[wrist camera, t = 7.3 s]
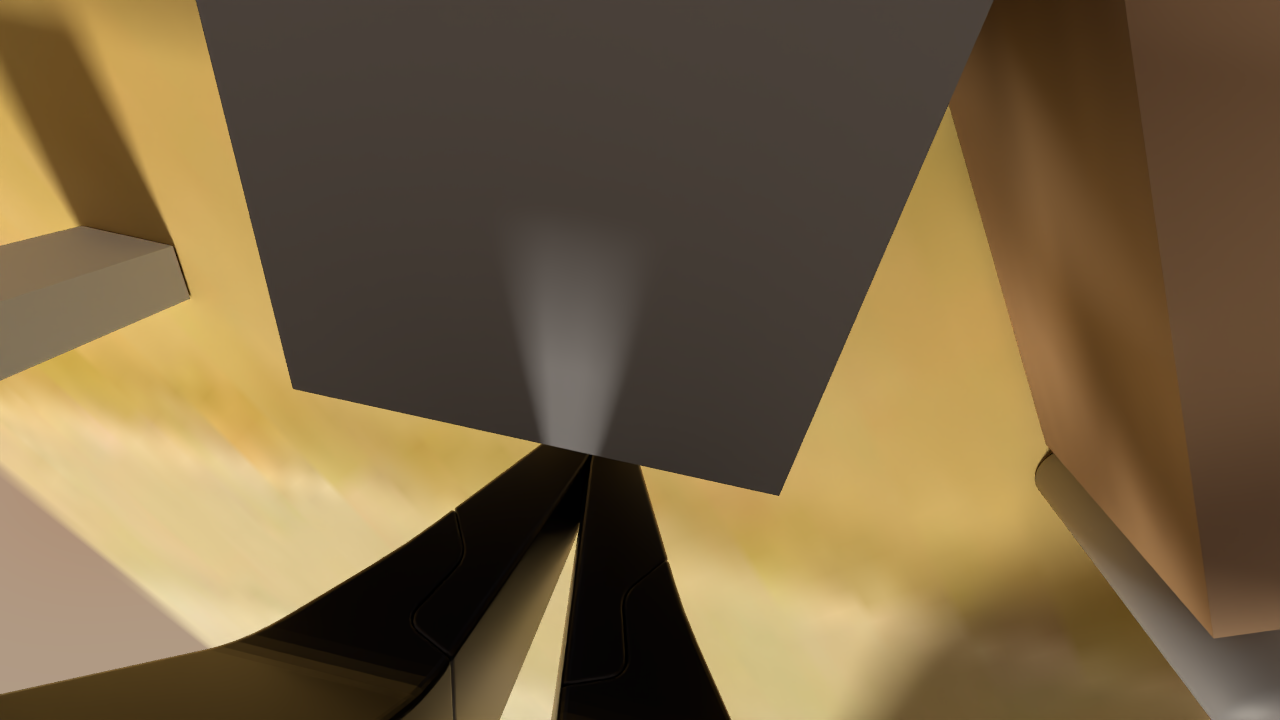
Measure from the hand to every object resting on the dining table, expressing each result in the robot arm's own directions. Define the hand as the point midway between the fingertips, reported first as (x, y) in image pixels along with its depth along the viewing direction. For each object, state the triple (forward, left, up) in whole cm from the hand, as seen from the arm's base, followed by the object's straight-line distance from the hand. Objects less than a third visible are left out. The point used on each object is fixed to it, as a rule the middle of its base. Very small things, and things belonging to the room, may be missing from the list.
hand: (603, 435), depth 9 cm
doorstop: (+1, -5, -2) cm, 5 cm away
